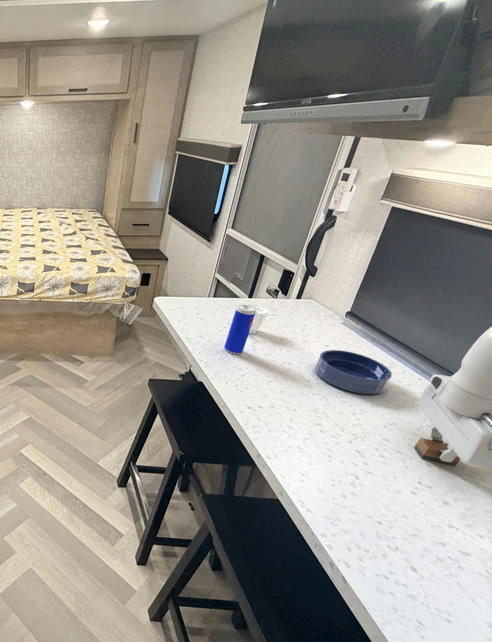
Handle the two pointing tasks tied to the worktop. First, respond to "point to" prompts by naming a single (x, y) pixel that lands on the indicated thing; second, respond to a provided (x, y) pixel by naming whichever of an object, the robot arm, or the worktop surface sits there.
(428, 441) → the eraser
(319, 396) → the worktop surface
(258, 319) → the cup
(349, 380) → the bowl
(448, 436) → the robot arm
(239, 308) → the beverage can
